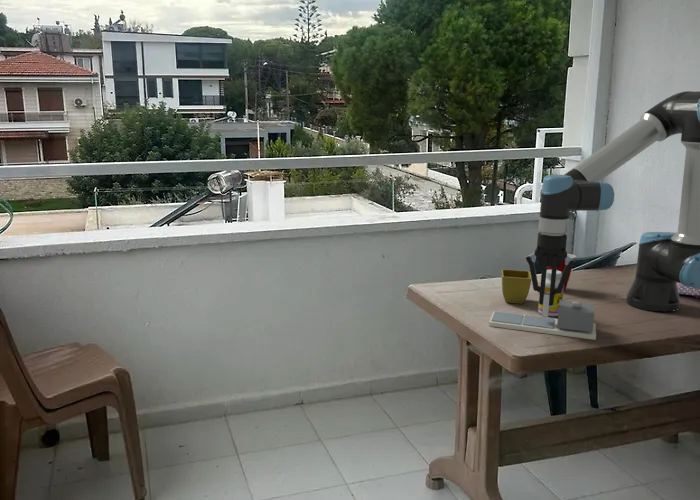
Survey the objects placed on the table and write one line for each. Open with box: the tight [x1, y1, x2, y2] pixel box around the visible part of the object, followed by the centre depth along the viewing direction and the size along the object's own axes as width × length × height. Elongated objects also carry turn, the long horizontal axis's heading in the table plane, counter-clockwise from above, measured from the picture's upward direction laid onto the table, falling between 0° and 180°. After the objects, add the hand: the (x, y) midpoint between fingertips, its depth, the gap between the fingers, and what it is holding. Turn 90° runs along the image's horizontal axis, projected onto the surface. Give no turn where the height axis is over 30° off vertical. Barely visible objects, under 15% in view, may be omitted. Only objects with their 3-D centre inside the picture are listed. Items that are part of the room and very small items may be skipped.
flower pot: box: [501, 268, 532, 305], centre depth 201 cm, size 9×9×9 cm
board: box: [488, 310, 597, 341], centre depth 180 cm, size 28×10×2 cm, turn 71°
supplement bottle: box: [537, 270, 565, 317], centre depth 190 cm, size 7×7×13 cm
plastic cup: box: [547, 253, 577, 292], centre depth 214 cm, size 11×11×12 cm
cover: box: [557, 300, 595, 332], centre depth 176 cm, size 9×9×6 cm
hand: (544, 315), depth 179 cm, fingers closed
